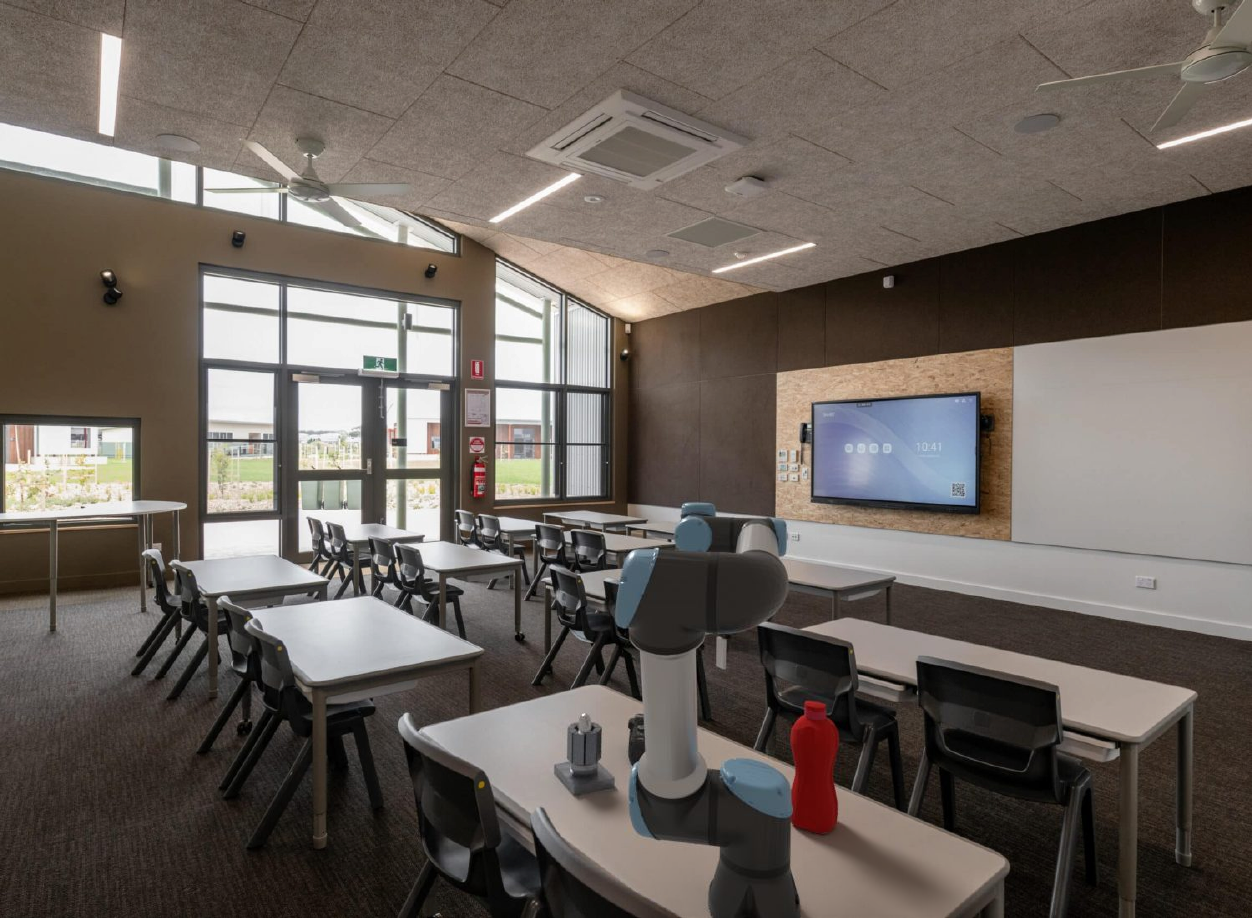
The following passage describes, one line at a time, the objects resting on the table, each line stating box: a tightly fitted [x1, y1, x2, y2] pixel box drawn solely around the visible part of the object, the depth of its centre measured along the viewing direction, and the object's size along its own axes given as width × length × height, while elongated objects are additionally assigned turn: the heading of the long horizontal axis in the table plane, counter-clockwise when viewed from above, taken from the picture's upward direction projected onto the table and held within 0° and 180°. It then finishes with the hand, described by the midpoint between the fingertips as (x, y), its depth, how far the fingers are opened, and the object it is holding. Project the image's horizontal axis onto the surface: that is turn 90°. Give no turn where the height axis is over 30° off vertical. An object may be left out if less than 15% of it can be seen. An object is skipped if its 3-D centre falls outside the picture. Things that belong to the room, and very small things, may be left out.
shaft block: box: [553, 712, 616, 797], centre depth 159 cm, size 12×10×15 cm
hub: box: [566, 721, 603, 766], centre depth 159 cm, size 8×8×7 cm
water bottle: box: [789, 700, 840, 835], centre depth 143 cm, size 9×11×25 cm
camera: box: [627, 712, 646, 766], centre depth 172 cm, size 13×10×10 cm
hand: (695, 671), depth 149 cm, fingers open, 13 cm apart
